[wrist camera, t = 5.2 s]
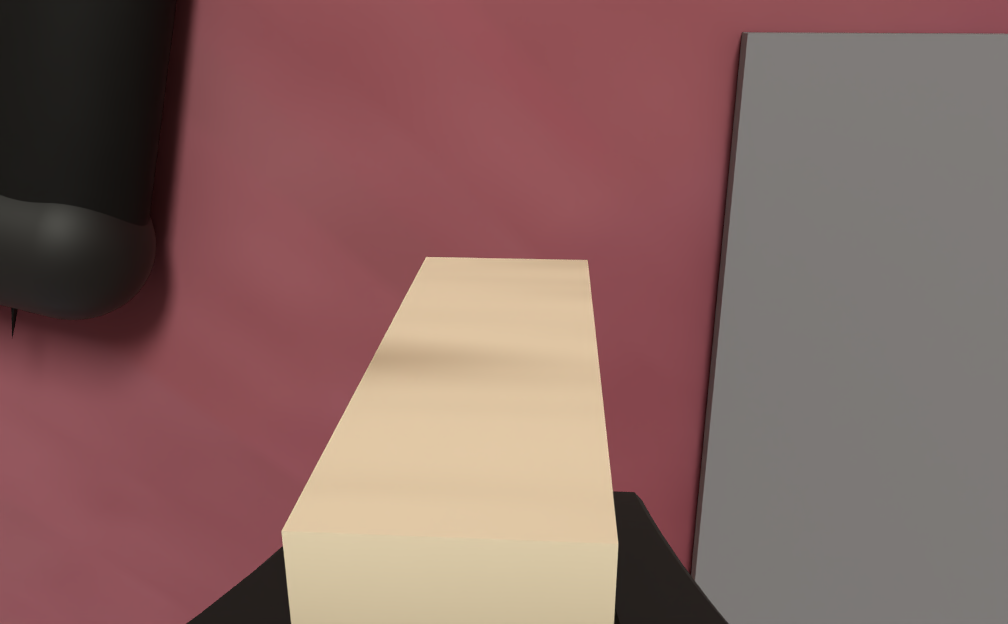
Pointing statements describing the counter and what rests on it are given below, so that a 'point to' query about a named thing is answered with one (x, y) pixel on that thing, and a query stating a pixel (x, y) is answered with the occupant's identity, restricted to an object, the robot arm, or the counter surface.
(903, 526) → the mat
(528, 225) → the counter surface
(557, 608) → the light wooden block
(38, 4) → the door handle
